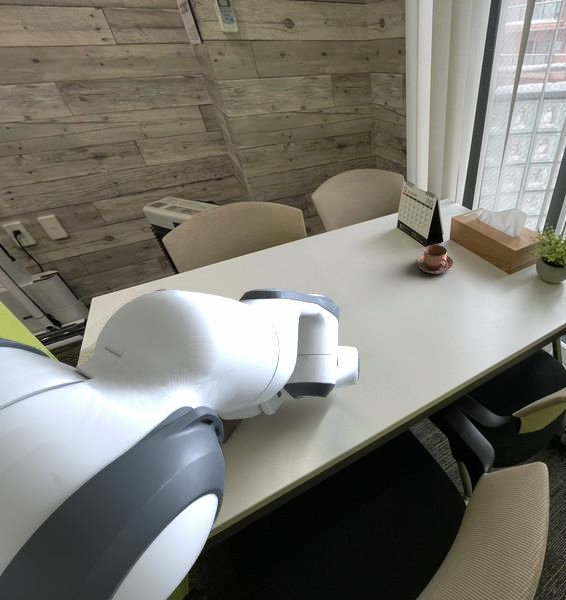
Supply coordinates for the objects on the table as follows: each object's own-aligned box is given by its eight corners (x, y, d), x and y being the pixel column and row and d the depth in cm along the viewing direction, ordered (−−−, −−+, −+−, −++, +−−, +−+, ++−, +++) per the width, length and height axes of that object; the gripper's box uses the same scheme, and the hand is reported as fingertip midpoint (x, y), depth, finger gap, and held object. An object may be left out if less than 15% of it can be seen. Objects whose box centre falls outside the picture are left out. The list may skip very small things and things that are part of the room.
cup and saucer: (459, 265, 108) (461, 249, 104) (439, 281, 101) (441, 264, 97) (429, 253, 114) (430, 238, 110) (409, 268, 107) (409, 251, 103)
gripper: (288, 322, 72) (225, 324, 72) (262, 402, 56) (180, 405, 56) (294, 342, 76) (234, 344, 75) (271, 422, 60) (194, 425, 59)
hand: (210, 371), depth 65 cm, fingers open, 8 cm apart
